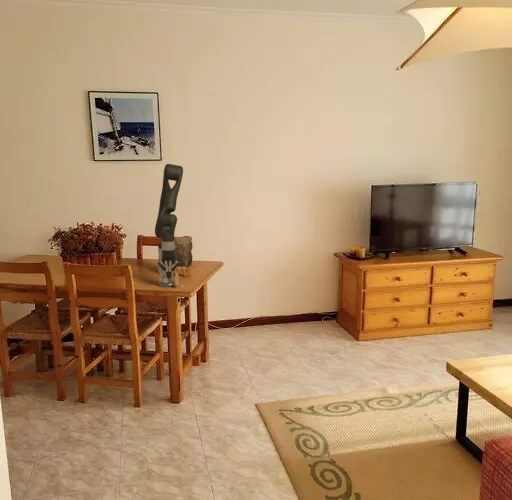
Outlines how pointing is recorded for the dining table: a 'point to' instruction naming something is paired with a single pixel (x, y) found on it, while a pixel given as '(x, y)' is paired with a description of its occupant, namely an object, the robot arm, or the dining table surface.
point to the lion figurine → (180, 269)
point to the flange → (166, 284)
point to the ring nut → (173, 279)
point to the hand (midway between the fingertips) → (169, 277)
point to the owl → (183, 251)
